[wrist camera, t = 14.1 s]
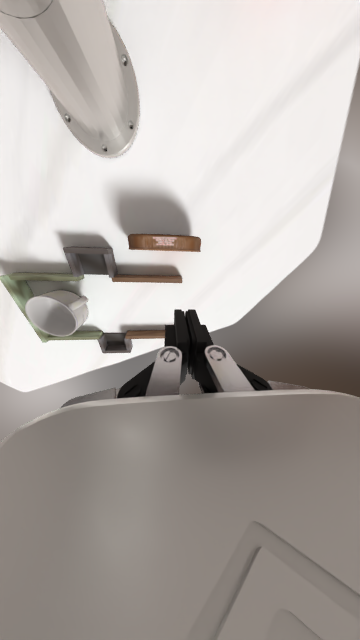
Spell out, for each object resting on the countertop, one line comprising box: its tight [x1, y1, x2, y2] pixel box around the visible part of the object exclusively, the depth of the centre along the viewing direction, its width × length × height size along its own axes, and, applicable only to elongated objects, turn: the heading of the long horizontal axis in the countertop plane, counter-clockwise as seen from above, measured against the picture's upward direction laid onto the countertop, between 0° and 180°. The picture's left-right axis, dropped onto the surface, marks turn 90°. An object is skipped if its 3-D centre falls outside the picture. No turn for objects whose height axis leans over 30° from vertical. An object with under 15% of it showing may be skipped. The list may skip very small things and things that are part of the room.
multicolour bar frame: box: [0, 247, 182, 353], centre depth 37 cm, size 31×40×4 cm
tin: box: [128, 234, 201, 252], centre depth 28 cm, size 15×3×8 cm, turn 88°
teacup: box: [25, 290, 88, 336], centre depth 34 cm, size 14×11×8 cm
